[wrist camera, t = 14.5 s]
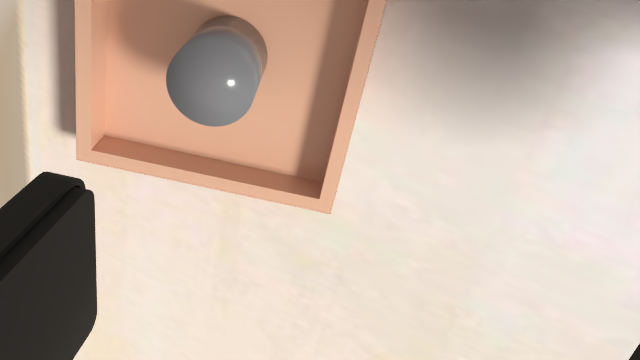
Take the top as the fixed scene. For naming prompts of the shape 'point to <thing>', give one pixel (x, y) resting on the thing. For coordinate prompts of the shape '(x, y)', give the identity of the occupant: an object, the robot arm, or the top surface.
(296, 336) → the top surface
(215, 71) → the gray metal cylinder
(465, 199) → the top surface
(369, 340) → the top surface
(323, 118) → the terracotta dish
